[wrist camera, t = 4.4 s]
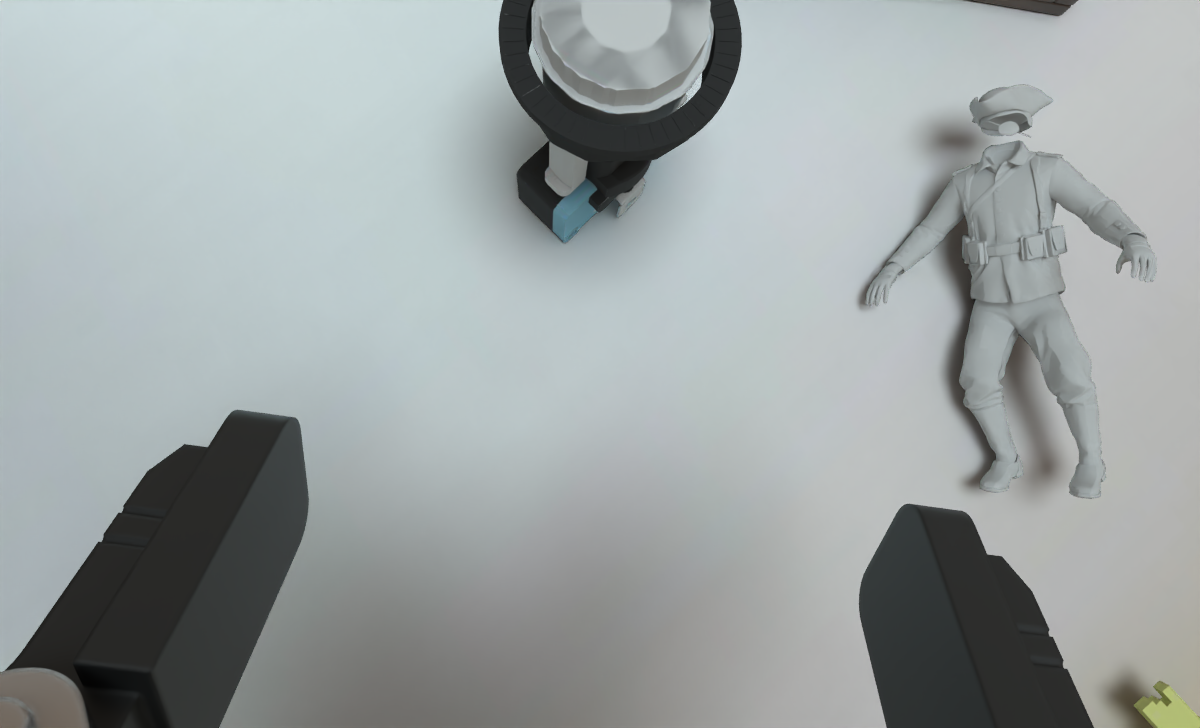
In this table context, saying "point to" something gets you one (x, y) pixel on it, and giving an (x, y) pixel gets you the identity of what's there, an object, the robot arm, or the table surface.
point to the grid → (1035, 5)
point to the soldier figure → (1022, 277)
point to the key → (1167, 709)
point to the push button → (612, 93)
